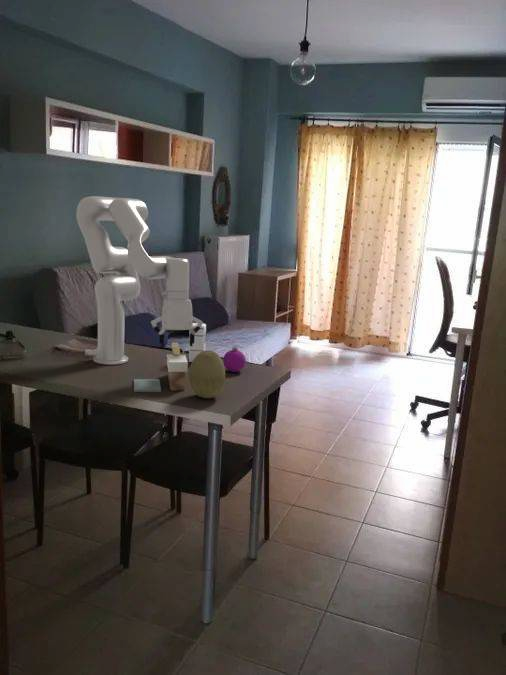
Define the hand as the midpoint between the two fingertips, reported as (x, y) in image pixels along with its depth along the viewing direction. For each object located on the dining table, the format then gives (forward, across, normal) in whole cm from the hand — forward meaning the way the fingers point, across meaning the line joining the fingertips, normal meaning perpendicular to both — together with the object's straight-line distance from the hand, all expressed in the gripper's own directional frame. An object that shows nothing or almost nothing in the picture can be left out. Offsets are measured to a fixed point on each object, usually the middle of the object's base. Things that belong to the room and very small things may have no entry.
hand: (176, 345), depth 200 cm
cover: (+6, 0, -8) cm, 10 cm away
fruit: (+12, +8, -21) cm, 25 cm away
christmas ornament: (+12, +21, +9) cm, 26 cm away
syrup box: (+11, +9, +23) cm, 27 cm away
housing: (+11, -1, -5) cm, 13 cm away
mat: (+11, -10, -9) cm, 18 cm away
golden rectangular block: (+6, -1, -1) cm, 6 cm away
